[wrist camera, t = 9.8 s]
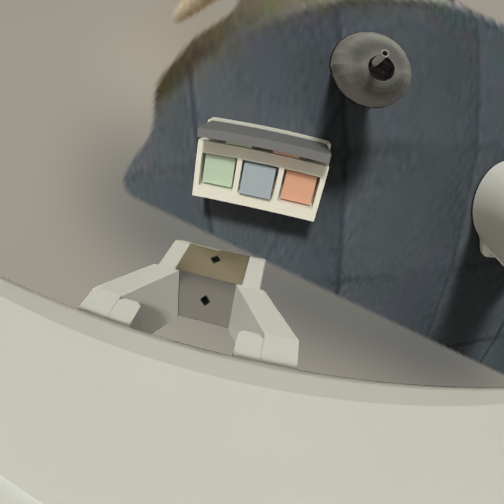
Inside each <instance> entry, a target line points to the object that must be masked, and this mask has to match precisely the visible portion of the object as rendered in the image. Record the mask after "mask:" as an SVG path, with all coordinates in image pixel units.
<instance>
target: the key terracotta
mask: <svg viewBox="0 0 504 504" xmlns="http://www.w3.org/2000/svg"><path fill="white" fill-rule="evenodd" d="M316 181H317V176H313V175H309V174H305V173H301V172H297V171H293V170H288V169H287V170H286V175H285V179H284V183H283V188H282V192H281V198H282V199H286V200H290V201H295V202H299V203H303V204H307V205H310V203H311V199H312V196H313V192H314V188H315V185H316Z"/></svg>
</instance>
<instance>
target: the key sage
mask: <svg viewBox="0 0 504 504" xmlns="http://www.w3.org/2000/svg"><path fill="white" fill-rule="evenodd" d="M236 165H237V158H232V157H226V156H221V155H215V154H210V153H206V156H205V164H204V172H203V181H202V182H206V183H211V184H216V185H221V186H226V187H232V185H233V183H234V177H235V171H236Z"/></svg>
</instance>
